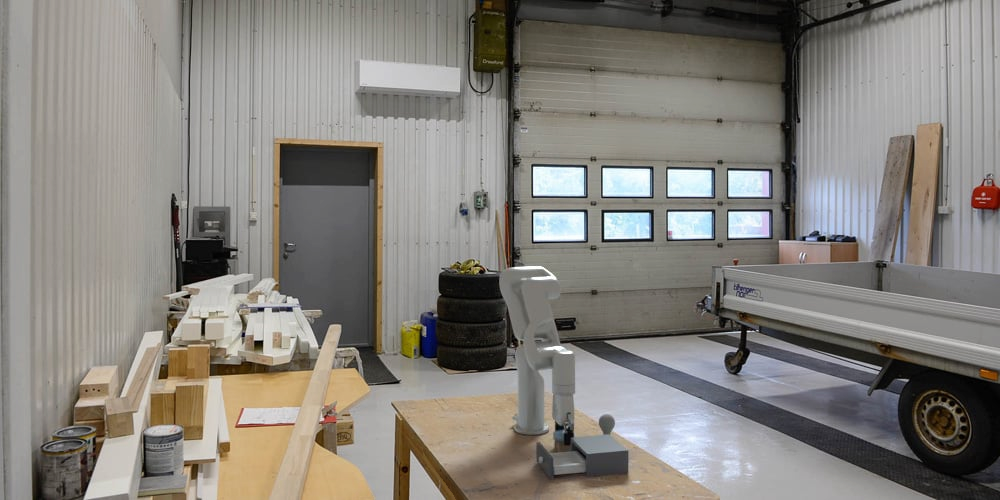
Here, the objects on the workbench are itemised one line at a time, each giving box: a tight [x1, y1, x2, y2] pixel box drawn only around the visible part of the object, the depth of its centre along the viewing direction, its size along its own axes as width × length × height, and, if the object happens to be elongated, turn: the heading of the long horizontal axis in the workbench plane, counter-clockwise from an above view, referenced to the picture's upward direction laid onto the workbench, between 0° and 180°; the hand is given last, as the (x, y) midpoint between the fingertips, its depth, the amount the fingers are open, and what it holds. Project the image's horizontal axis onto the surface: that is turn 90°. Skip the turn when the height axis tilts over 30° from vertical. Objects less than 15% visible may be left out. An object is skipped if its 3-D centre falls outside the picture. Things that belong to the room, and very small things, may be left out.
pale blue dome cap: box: [552, 430, 576, 441], centre depth 212 cm, size 7×7×2 cm
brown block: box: [553, 439, 571, 453], centre depth 212 cm, size 5×5×4 cm
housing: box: [571, 433, 629, 478], centre depth 198 cm, size 15×13×7 cm
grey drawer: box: [535, 441, 586, 480], centre depth 195 cm, size 15×14×6 cm
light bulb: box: [598, 413, 616, 435], centre depth 218 cm, size 6×6×10 cm
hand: (564, 440), depth 212 cm, fingers open, 9 cm apart
